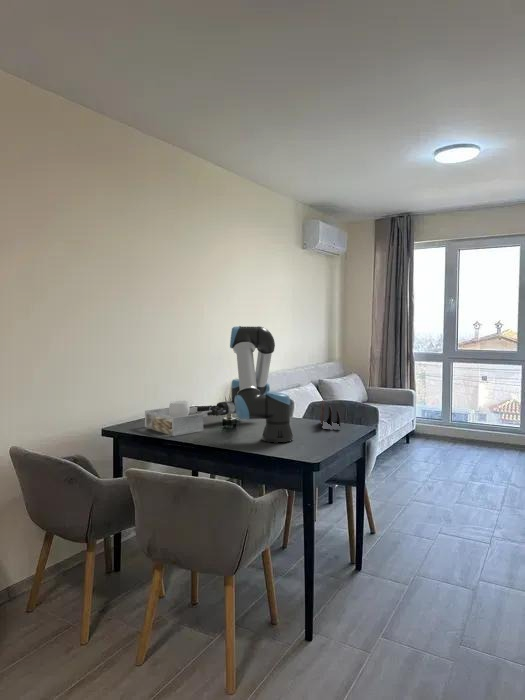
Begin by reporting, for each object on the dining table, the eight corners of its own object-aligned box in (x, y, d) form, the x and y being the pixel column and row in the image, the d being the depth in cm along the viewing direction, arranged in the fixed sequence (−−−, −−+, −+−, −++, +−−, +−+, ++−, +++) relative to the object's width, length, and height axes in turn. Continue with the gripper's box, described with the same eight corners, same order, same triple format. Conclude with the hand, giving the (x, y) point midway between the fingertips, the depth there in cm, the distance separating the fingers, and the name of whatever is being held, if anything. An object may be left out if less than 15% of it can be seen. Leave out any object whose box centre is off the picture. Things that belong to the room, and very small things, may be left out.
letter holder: (321, 430, 269) (322, 404, 269) (320, 423, 289) (320, 398, 288) (340, 430, 269) (341, 404, 268) (337, 423, 289) (338, 399, 288)
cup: (185, 432, 259) (185, 404, 258) (165, 431, 261) (165, 403, 261) (192, 428, 270) (192, 401, 269) (173, 427, 272) (173, 400, 271)
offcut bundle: (176, 432, 254) (176, 421, 253) (170, 433, 251) (170, 422, 251) (157, 427, 267) (157, 416, 266) (152, 428, 264) (152, 416, 264)
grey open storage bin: (203, 433, 259) (203, 413, 259) (173, 438, 247) (173, 418, 246) (173, 424, 279) (173, 406, 279) (144, 429, 267) (144, 410, 266)
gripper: (239, 418, 278) (208, 423, 263) (211, 411, 296) (181, 416, 281) (239, 404, 277) (208, 408, 263) (211, 399, 295) (181, 402, 281)
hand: (194, 412), depth 272 cm, fingers open, 13 cm apart
